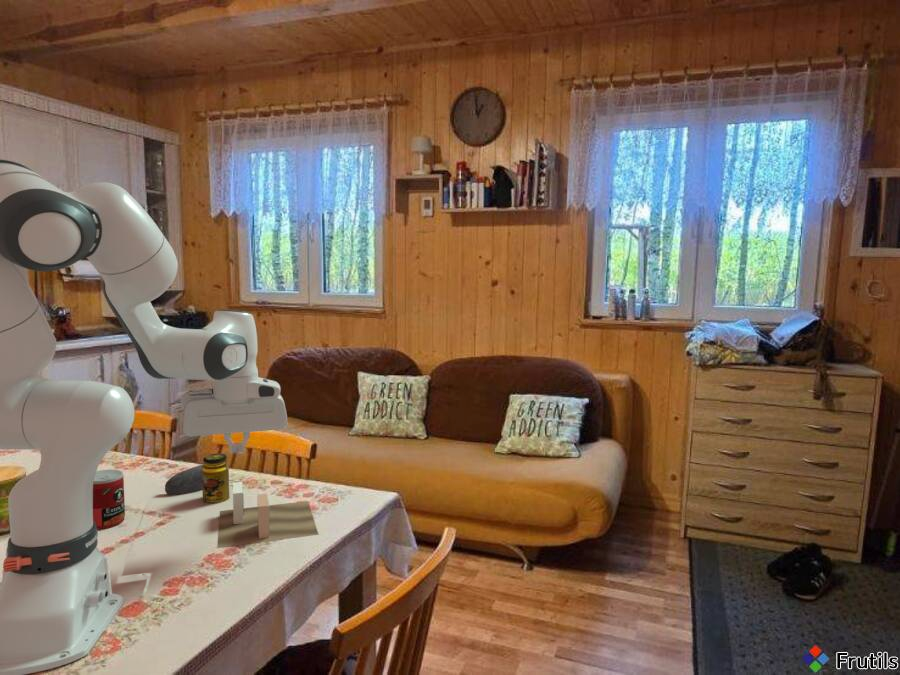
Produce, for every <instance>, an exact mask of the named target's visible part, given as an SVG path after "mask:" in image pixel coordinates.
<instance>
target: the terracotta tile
mask: <svg viewBox="0 0 900 675" xmlns="http://www.w3.org/2000/svg"><path fill="white" fill-rule="evenodd" d="M256 496H257V502H256V503H257V507H258V533H259V539H263V538H269V505H270V504H269V503H270V502H269V497H268V493H261V494H256Z"/></svg>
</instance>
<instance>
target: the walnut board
mask: <svg viewBox="0 0 900 675" xmlns="http://www.w3.org/2000/svg"><path fill="white" fill-rule="evenodd" d="M217 534H218V535H217V549H220V548H227V547H235V546H242V545H244V546H245V545H249V544H257V543H265V542H272V541H273V542H274V541H280V540H287V539H294V538H295V539H296V538H302V537H310V536H317V535H318V536H319V532H318V528H317V525H316V522H315V519H314V516H313V512H312V509H311V505H310V502H309V500H304V501H297V502H296V501H295V502H286V503H279V504H271V505H270V504H269V538H263V539H259V533H258V506H252V507H244V516H243V523H241V524H234V520H233V509H226V510H219V522H218V532H217Z"/></svg>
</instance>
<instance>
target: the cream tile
mask: <svg viewBox="0 0 900 675" xmlns="http://www.w3.org/2000/svg"><path fill="white" fill-rule="evenodd" d="M232 483H233V484H232V508H233V509H232V510H233V520H234V524H241V523H243V516H244V508H245V507H244V504H245V503H244V502H245V501H244V486H243V481H238V482H232Z"/></svg>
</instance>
